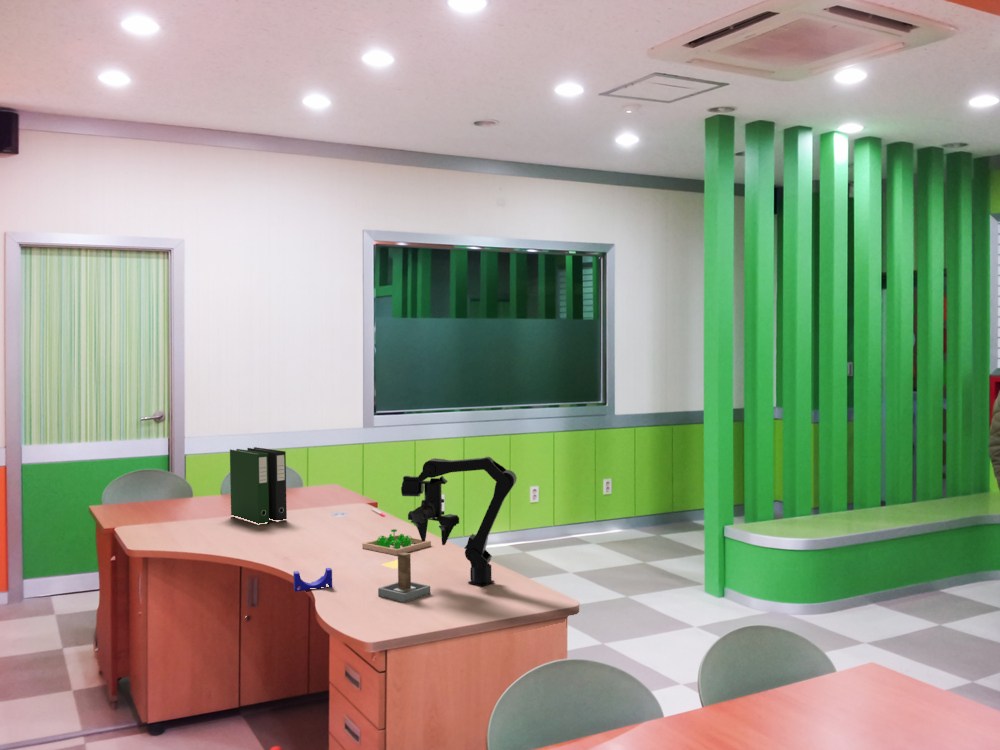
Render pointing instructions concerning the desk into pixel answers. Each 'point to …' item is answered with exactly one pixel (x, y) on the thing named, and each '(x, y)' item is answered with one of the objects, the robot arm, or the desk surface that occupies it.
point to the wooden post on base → (404, 573)
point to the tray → (403, 597)
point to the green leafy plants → (392, 540)
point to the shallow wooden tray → (417, 545)
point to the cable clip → (316, 584)
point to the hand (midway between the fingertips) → (433, 543)
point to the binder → (258, 484)
